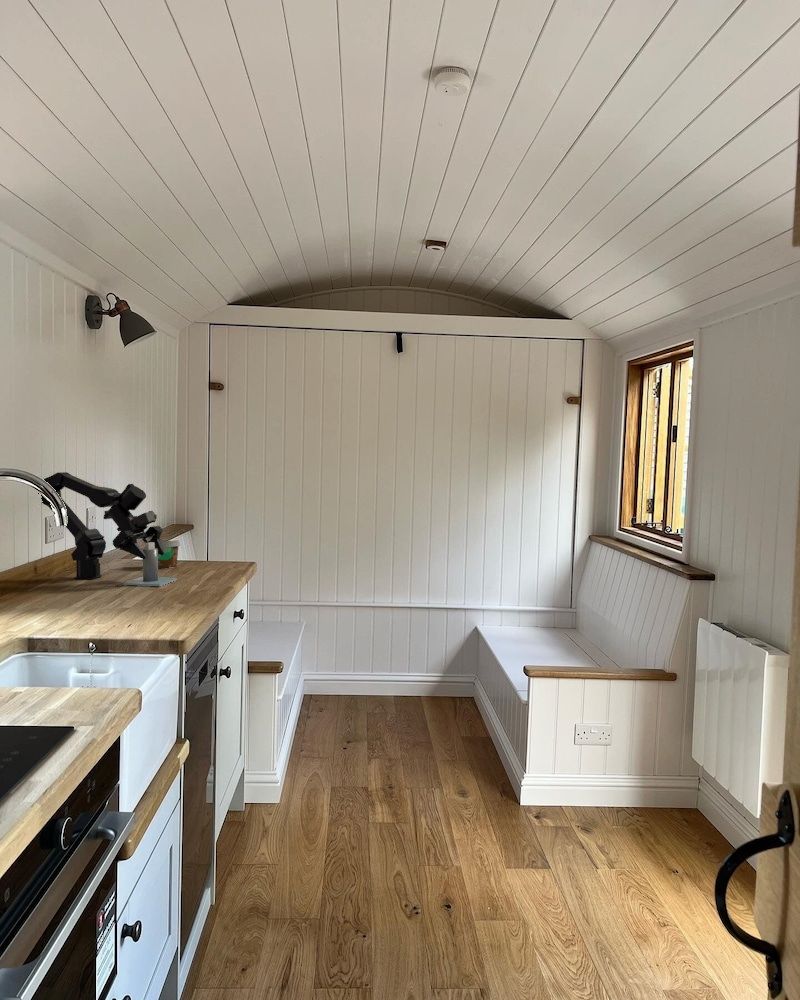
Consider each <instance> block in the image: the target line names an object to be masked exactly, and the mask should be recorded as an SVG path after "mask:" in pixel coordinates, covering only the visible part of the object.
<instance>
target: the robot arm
mask: <svg viewBox="0 0 800 1000" xmlns="http://www.w3.org/2000/svg"><path fill="white" fill-rule="evenodd" d="M43 479H44V480H45V481H46V482H48V483H49V484H50V485H51V486H52V487H53V488H54V489H55V490H56V492H57V493H58V494H59V496H60V497H61V499H62V501H63V502H64V504H65V506H66V509H67V516H68V524H67V526H66V527H65V528H66V529H67V530H68V531H69V532H70V534H71V535H72V537H73V538H74V544H75V546H76V548H75V549H74V550H73V551H72V553H71V554H70V555H71V556H70V557H71V558H72V560H73V561H75V566H76V567H75V569H76V573H75V574H76V575H75V576H74V577H73V579H76V580H77V579H78V580H80V579H81V580H93V579H97V578H100V577H102V574H101V563H100V559H101V558H102V559H103V555H104V552H105V551H106V547H107V545H106V544H107V542H106V540H105V539H104V538H105V536H104V535H102V533H101V532H100V531H99V529H97V528H93V529H90V528H88V527H87V526H86V525H85V524H84V522H83V521H82V520H81V519H80V518H79V516H77V514H76V513H75V512H74V511H73V509H71V507H70V506H69V505H68V504H67V503H66V502H65V501H64V499H63V498H62V490H63V489H64V488H66V489H68V490H71V491H73V492H76V493H77V494H79V495H82V496H84V497H86V498H88V499H89V501H90V503H92V504H93V505H95V506H96V507H98V508H109V507H110V508H109V509H107V510H104V515H103V520H110V519H111V520H112V521H113V522H114V523H115V525H116V526H117V528H116V530H117V531H118V534H117V535H116V536H115V537H114V539H112V545H113V547H114V549H116V550H118V549H119V550H120V551H123V552H126V553H128V554H131V555H134V556H135V557H137V558H140V559H142V560H143V559H145V558H146V556H145V554H144V552H143V549H142V548H141V547H140V545H139V544H138V541H139V540H142V541H143V543H145V544H146V543H150V542H154V543H155V548H157V549H158V554H160V555H163V554H164V551H163V548H162V545H161V542H160V541H161V536H162V534H163V532H164V529H163V528H162V527H161V526H160V525H153V526H148V525H150V524H153V523H155V522H156V521H157V519H158V518H157V517H158V515H157V514H156V513H155V511H153V510H149V511H148V512H144V513H141V514H139V515H133V514H132V512H131V511H135V510H136V509H137V508H138V507H139V506H140V505H141V504H142V503H143V501H144V500H145V499H146V498H147V494H146V492H145V491H144V490H143V489H141V488H140V487H139V486H136V485H135V484H134V483H128V484H127V485H126V487H125V488H124V489H123V491H122V492H121V493H120V492H119V491H118V490H117V489H114V488H110V487H106V486H98V485H95V484H92V483H91V482H89V481H85V480H83V479H81V478H79V477H78V476H74V475H72V474H71V473H69V472H67V471H63V472H56V473H54V474H51V475H50V476H48V477H46V478H43ZM38 494H39V493H38ZM41 496H42V495H41ZM41 499H42V501H43V502H42V503H43V504H42V503H41V504H42V505H45V506H46V507H48V508H49V509H50V510H51V511H52V508H51V505H50V503H49V502H48V501H47V500H46V499H45V498H44V497H43V496H42V498H41ZM145 530H146V531H145Z"/></svg>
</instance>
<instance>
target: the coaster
mask: <svg viewBox="0 0 800 1000" xmlns="http://www.w3.org/2000/svg"><path fill="white" fill-rule="evenodd" d="M177 579H178V578H177V577H161V576H160V577H159V576H158V581H152V582H146V581H143V576H141V577H137V578H134V579H131V580H128V581H127V580H126V581H125V582H123V586H127V585H137V586H136V587H150V586H161V587H164V586H166V585H169V584H171V583H170V582H172V583H174V582H176V580H177ZM173 581H174V582H173ZM168 583H169V584H168ZM165 584H166V585H165ZM163 585H164V586H163Z"/></svg>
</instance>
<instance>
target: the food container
mask: <svg viewBox="0 0 800 1000" xmlns="http://www.w3.org/2000/svg"><path fill="white" fill-rule="evenodd" d="M160 542H161V545H162V548H163V551H164V554H163V555H160V554H158V568H169V567H178V555H179V547H180V546H181V544H180V543H181V542H180V540H179V539H177V540H160Z"/></svg>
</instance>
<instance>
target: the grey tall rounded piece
mask: <svg viewBox="0 0 800 1000" xmlns="http://www.w3.org/2000/svg"><path fill="white" fill-rule="evenodd" d="M142 551H143V552H144V554H145V556H146V558H145V559H142V577H143V581H146V582H152V581H158V577H159V569H158V549H157V548H155V543H154V542H150V543H145V548H143V549H142Z"/></svg>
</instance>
